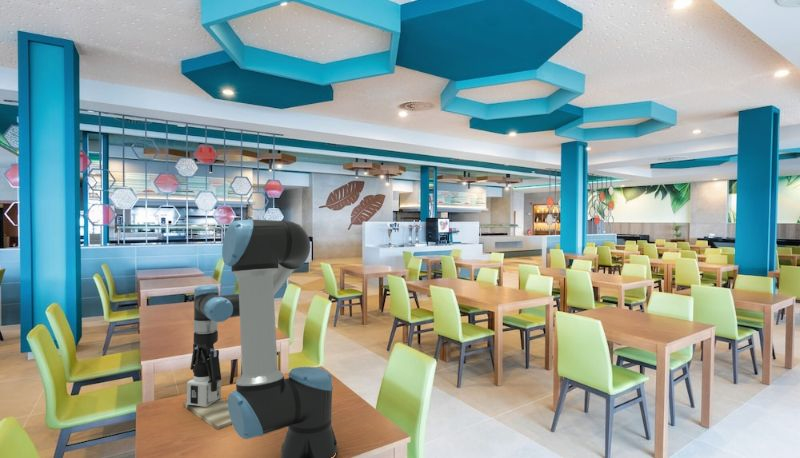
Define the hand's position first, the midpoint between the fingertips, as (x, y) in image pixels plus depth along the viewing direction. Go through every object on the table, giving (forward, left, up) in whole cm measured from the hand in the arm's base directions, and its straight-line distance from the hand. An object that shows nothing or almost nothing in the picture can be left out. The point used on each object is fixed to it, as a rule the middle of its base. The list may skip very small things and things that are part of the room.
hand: (205, 395), depth 142 cm
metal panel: (-7, 0, -3) cm, 8 cm away
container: (0, 0, -2) cm, 2 cm away
